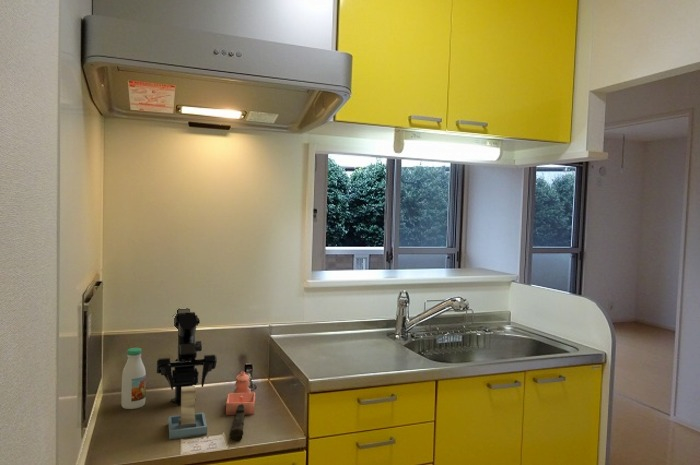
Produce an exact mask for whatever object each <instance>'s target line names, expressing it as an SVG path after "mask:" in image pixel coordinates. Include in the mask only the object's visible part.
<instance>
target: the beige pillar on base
mask: <svg viewBox="0 0 700 465" xmlns="http://www.w3.org/2000/svg"><path fill="white" fill-rule="evenodd" d="M195 399H196V385H193V386H187V387H181V405H180V415H181V419H179V429H184V428H192V427H196V419H195V413H196V401H195Z"/></svg>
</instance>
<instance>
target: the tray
mask: <svg viewBox="0 0 700 465" xmlns="http://www.w3.org/2000/svg"><path fill="white" fill-rule="evenodd" d="M179 419H181V414H180V415H179V414H177V415H171V416H168V422H167V424H168V437H169V438H168V439H169V440H177V439H183V438H184V439H185V438H191V437H200V436H207V435H208V425H207V421H206V416H205V412H198V413H197V412H195V419H196V427H192V428H184V429H179Z"/></svg>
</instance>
